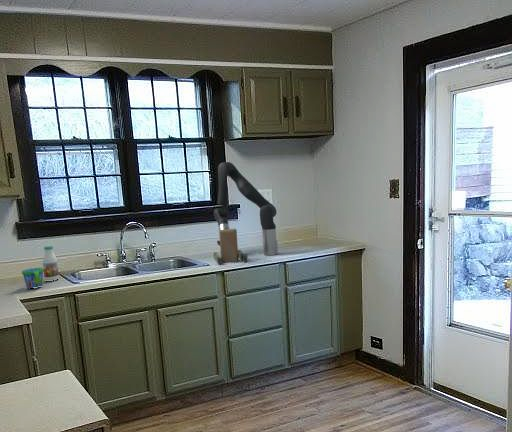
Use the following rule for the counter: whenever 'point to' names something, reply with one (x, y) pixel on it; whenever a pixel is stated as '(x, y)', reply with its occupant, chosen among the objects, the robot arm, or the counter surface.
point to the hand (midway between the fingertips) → (228, 252)
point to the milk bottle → (50, 264)
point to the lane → (240, 255)
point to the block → (228, 245)
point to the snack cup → (33, 277)
